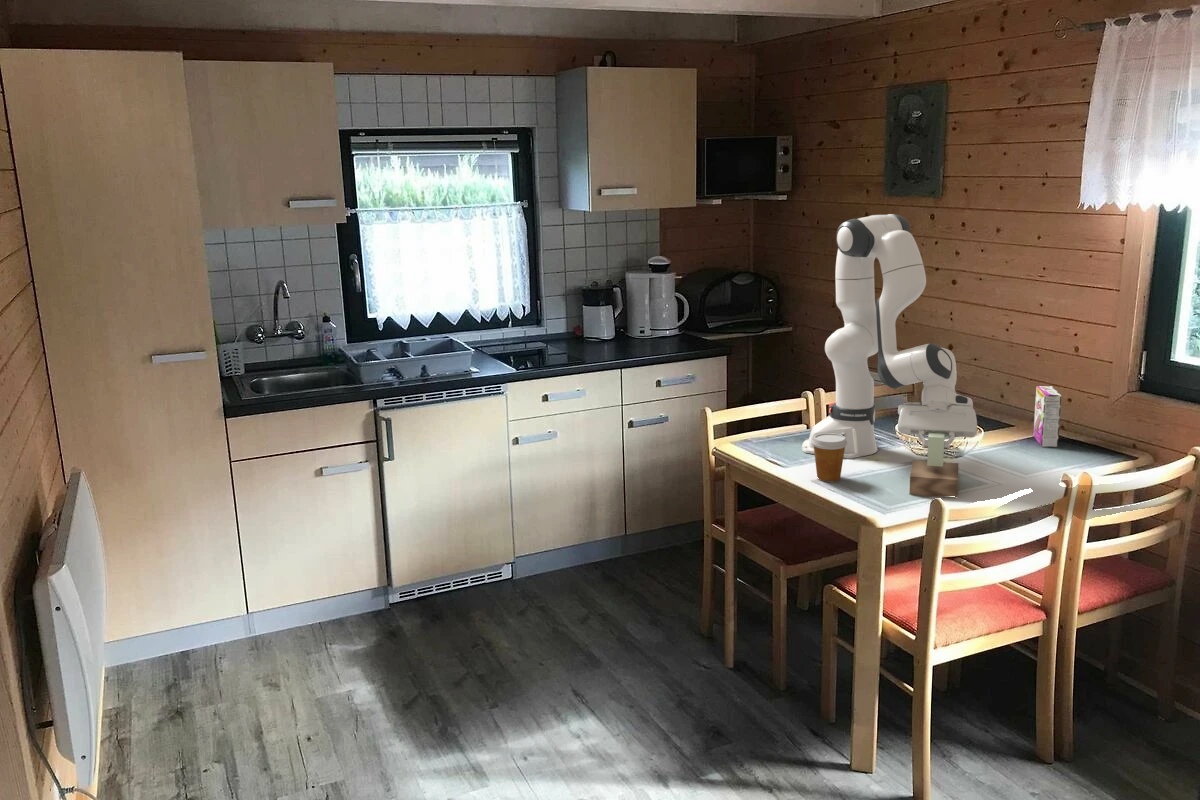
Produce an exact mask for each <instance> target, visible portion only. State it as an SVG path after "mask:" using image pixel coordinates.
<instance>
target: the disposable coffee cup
mask: <svg viewBox="0 0 1200 800" xmlns="http://www.w3.org/2000/svg"><path fill="white" fill-rule="evenodd" d="M812 443H813V446H814V453H815V454H814V459H815V460H814V461H815V468H816V470H815V471H816V476H817V477H818V478H819V479H821V480H824V481H823V482H825V481H834V482H838V481H840V480H841V476H842V468H843V462H844V458H843V457H844V451H845V446H846V444H847V441H846V439H845V437H844V436H843V435H840V434H834V433H822V434H817V435H815V436H814V438H813V440H812ZM817 477H816V478H817ZM818 478H817V479H818ZM819 479H818V480H819ZM821 480H820V481H821Z"/></svg>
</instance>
